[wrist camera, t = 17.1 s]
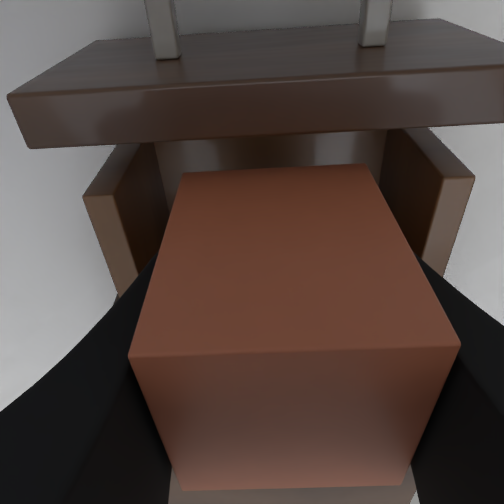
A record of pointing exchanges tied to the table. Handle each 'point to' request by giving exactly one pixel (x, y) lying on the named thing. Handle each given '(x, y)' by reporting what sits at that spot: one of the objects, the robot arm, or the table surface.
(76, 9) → the table surface
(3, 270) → the table surface
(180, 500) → the cabinet
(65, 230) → the table surface
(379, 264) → the block
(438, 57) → the drawer
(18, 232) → the table surface
